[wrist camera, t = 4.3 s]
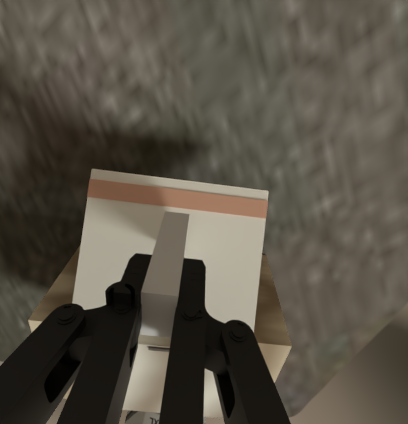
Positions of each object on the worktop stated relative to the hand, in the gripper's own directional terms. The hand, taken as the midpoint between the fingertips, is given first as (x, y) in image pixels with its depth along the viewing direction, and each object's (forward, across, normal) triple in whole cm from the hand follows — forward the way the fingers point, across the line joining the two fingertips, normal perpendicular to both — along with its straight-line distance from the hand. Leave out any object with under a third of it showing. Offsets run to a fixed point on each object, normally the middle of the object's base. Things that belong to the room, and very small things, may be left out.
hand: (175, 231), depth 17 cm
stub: (+1, 0, -2) cm, 2 cm away
